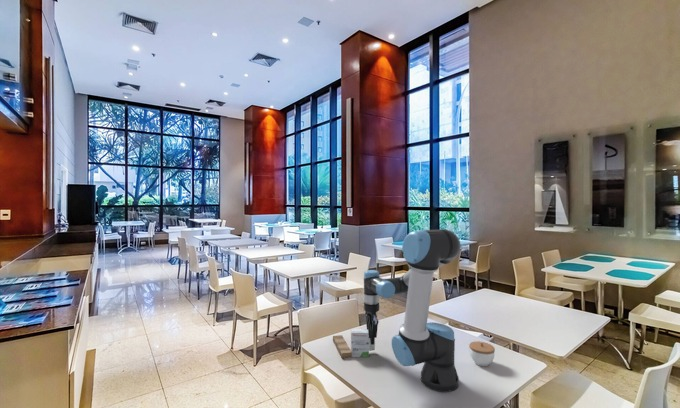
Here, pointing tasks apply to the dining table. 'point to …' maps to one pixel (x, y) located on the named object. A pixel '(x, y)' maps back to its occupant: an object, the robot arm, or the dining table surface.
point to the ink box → (360, 343)
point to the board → (342, 347)
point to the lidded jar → (481, 353)
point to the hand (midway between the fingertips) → (371, 349)
